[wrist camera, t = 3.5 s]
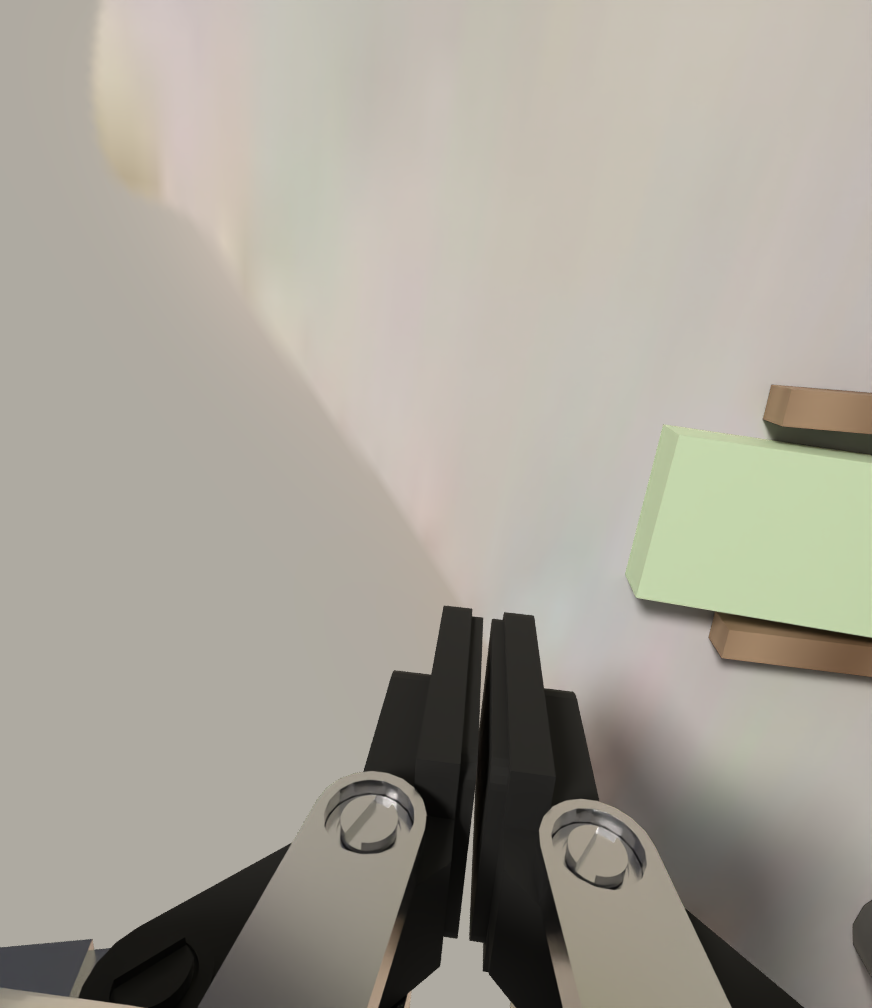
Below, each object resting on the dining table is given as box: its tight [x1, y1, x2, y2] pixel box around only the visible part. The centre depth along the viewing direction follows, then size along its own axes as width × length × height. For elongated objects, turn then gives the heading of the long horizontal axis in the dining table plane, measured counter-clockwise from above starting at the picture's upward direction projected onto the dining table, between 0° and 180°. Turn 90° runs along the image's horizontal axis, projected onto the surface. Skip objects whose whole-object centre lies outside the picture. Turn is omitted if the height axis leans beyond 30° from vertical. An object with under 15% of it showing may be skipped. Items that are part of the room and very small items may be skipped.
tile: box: [625, 425, 872, 638], centre depth 20 cm, size 11×6×2 cm, turn 82°
